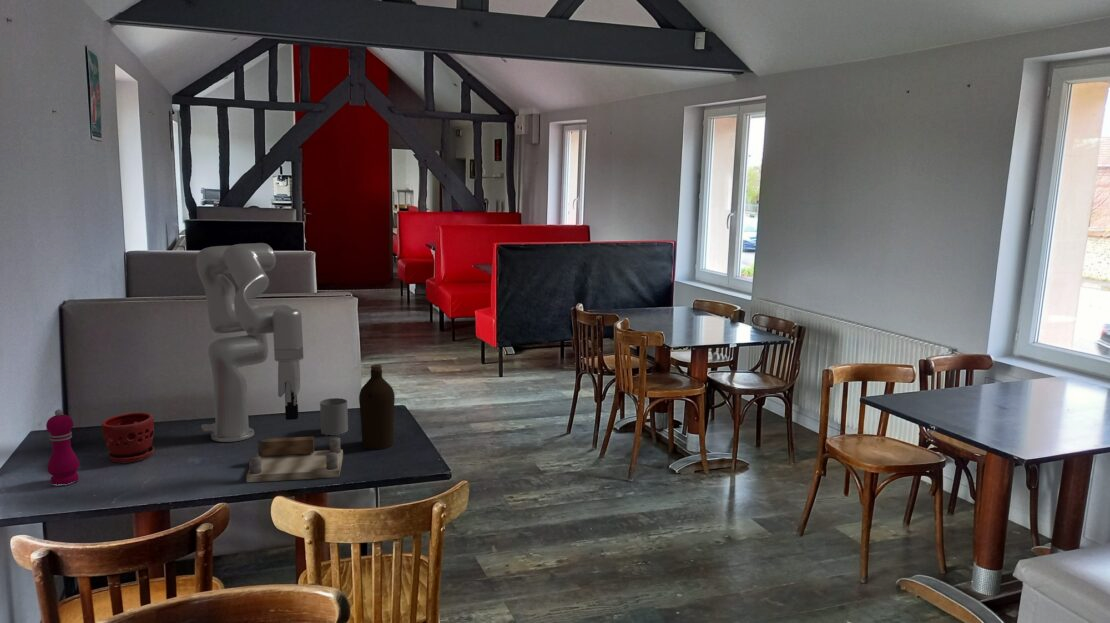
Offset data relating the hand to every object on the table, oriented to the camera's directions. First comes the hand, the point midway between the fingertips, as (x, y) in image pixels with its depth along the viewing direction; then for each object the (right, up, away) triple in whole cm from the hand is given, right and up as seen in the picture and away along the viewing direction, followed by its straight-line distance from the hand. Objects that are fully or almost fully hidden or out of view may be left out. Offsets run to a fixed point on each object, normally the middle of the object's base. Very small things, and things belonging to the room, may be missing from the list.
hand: (292, 418), depth 217 cm
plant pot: (-50, -13, +10) cm, 53 cm away
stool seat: (0, -15, +3) cm, 15 cm away
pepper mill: (-57, -16, -9) cm, 60 cm away
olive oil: (+18, -12, +25) cm, 33 cm away
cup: (+2, -9, +36) cm, 38 cm away
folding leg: (-5, -11, +9) cm, 15 cm away
